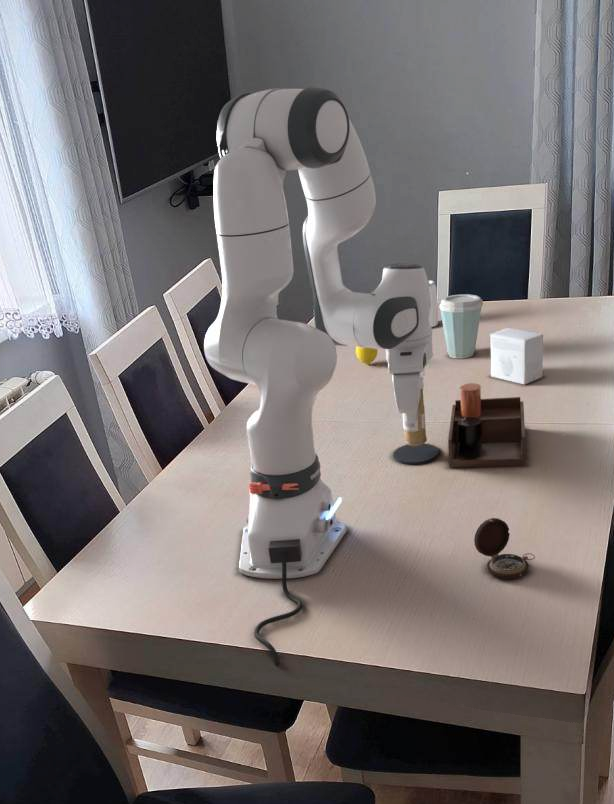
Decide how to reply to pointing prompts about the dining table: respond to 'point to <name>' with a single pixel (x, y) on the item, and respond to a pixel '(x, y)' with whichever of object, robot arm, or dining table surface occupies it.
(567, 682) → the dining table surface
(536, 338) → the cosmetics box
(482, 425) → the spice rack
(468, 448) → the black spice tin
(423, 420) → the sprinkles bottle
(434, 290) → the can
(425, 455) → the coaster
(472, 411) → the terracotta spice jar
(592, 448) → the dining table surface
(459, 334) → the disposable coffee cup
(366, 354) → the lemon
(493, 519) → the compass
